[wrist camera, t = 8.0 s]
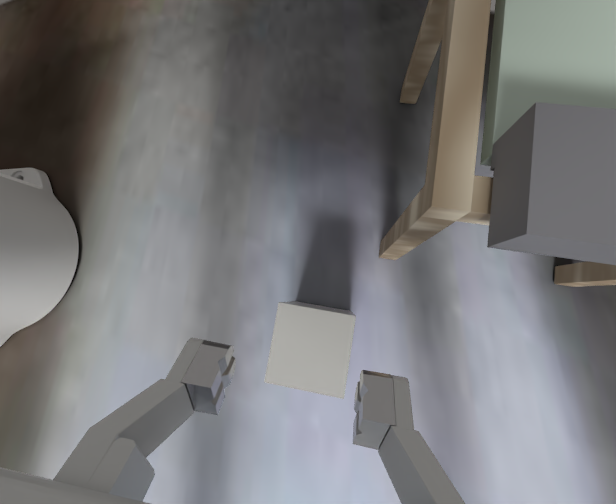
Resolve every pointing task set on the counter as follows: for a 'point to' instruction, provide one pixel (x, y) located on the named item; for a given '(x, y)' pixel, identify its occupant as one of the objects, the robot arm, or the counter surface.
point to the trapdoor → (553, 128)
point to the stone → (311, 348)
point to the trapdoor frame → (458, 136)
